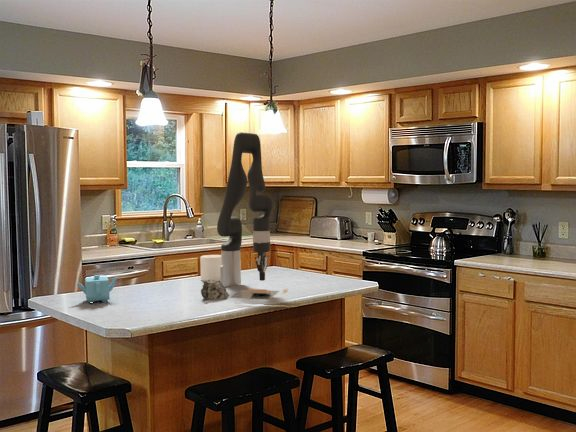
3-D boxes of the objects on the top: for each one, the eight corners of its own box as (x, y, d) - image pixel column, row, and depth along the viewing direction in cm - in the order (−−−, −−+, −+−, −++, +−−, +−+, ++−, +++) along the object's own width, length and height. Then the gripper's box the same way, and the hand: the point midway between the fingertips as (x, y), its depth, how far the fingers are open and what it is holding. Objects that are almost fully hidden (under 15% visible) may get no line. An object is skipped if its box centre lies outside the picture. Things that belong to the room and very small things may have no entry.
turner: (281, 291, 294) (281, 288, 293) (291, 291, 293) (291, 288, 293) (276, 298, 278) (276, 295, 278) (287, 298, 277) (286, 295, 277)
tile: (252, 294, 282) (248, 292, 275) (253, 290, 283) (248, 289, 275) (270, 294, 281) (266, 293, 273) (270, 291, 281) (266, 289, 273)
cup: (222, 281, 322) (221, 257, 321) (199, 281, 322) (198, 257, 321) (225, 277, 333) (224, 254, 332) (202, 277, 334) (202, 254, 333)
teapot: (76, 299, 280) (75, 274, 279) (118, 296, 286) (117, 271, 285) (78, 306, 265) (77, 279, 264) (122, 303, 271) (121, 276, 270)
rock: (198, 306, 270) (211, 288, 267) (194, 292, 278) (206, 274, 275) (224, 314, 277) (237, 297, 274) (219, 300, 285) (231, 284, 282)
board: (229, 299, 275) (229, 297, 275) (240, 291, 293) (240, 289, 292) (270, 301, 271) (270, 298, 271) (279, 293, 289) (279, 290, 289)
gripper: (256, 239, 287) (257, 277, 288) (249, 242, 274) (250, 282, 275) (273, 239, 286) (273, 278, 287) (266, 242, 273) (267, 283, 274)
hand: (262, 280), depth 281 cm, fingers closed
